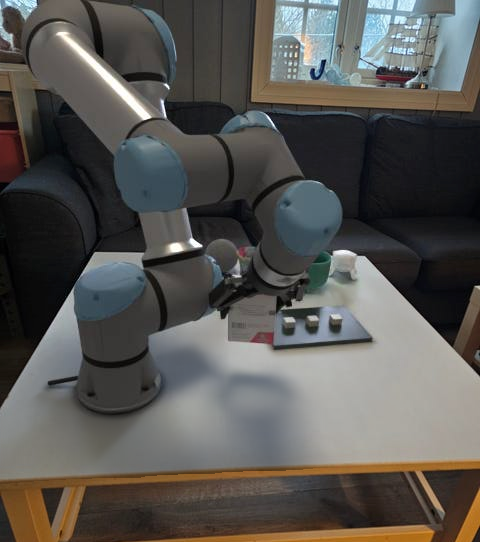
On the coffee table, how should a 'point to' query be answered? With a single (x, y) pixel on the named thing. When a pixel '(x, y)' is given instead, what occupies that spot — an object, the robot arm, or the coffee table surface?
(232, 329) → the ink box
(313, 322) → the chalk flake
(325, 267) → the mug
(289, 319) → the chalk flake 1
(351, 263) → the white figurine
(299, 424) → the coffee table surface
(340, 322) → the chalk flake
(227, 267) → the decorative ball
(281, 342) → the slate board
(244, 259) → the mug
